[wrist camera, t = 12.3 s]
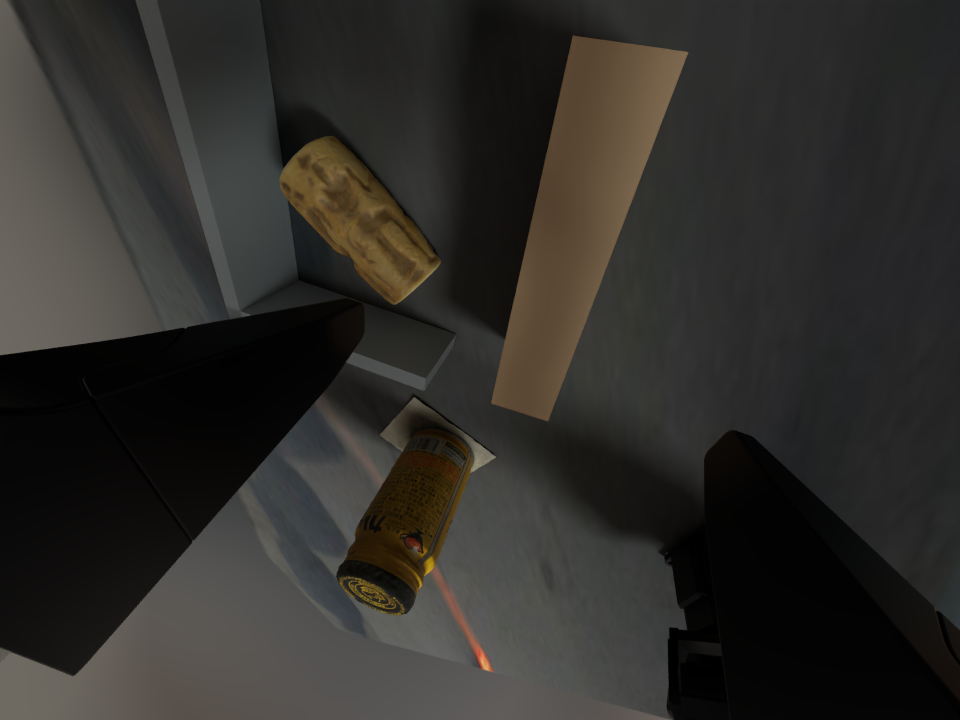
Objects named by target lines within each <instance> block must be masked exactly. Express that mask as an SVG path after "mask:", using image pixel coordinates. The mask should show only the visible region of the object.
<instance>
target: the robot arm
mask: <svg viewBox="0 0 960 720" xmlns="http://www.w3.org/2000/svg"><path fill="white" fill-rule="evenodd" d="M364 331H365V311H364V305H363V304H362V303H361V302H359V301H356V300H353V299H350V298H343V299H337V300H332V301H326V302H321V303H315V304H310V305H305V306H299V307H294V308H288V309H283V310H277V311H272V312H266V313H261V314H255V315H250V316H245V317H239V318H234V319H228V320H223V321H217V322H212V323H206V324H201V325H195V326H190V327H187V328H186V329H185V328H179V329H173V330H168V331H162V332H157V333H151V334H145V335H139V336H133V337H127V338H120V339H113V340H107V341H100V342H93V343H87V344H79V345H72V346H65V347H57V348H50V349H43V350H36V351H28V352H21V353H14V354H7V355H0V663H1V661H3V660H4V659H5V658H6V657H7V656H8V655H9V654H11V653H15V654H17V655H20V656H22V657H25V658H27V659H30V660H33V661H35V662H38V663H40V664H43V665H46V666H48V667H51V668H53V669H56V670H58V671H61V672H63V673H66V674H68V675H71V676H74V675H76V674H77V673H78V672H79V671H80V670H81V669H82V668H83V667H84V666H85V664H86V663H87V662H88V661H89V660H90V659H91V658H92V657H93V655H94V654H95V653H96V652H97V651H98V650H99V649H100V648H101V647H102V645H103V644H104V643H105V642H106V641H107V640H108V639H109V637H110V636H111V635H112V634H113V633H114V632H115V630H116V629H117V628H118V627H119V626H120V625H121V623H123V621H124V620H125V619H126V618H127V617H128V616H129V615H130V613H131V612H132V611H133V610H134V609H135V608H136V607H137V605H138V604H139V603H140V601H142V600H143V599H144V597H145V596H146V595H147V594H148V592H150V591H151V589H152V588H153V587H154V586H155V584H157V582H158V581H159V580H160V579H161V578H162V577H163V576H164V574H165V573H166V572H167V571H168V570H169V569H170V568H171V566H172V565H173V564H174V563H175V562H176V561H177V560H178V558H179V557H180V556H181V555H182V554H183V553H184V552H185V550H186V549H187V548H188V547H189V546H190V545H191V543H192V541H193V540H195V538H196V537H197V536H198V535H199V534H200V533H201V532H202V531H203V529H204V528H205V527H206V526H207V525H208V523H210V521H211V520H212V519H213V518H214V517H215V516H216V515H217V513H218V512H219V511H220V510H221V509H222V508H223V507H224V505H225V504H226V503H227V502H228V501H229V500H230V499H231V497H232V496H233V495H234V494H235V493H236V492H237V491H238V489H239V488H240V487H241V486H242V485H243V484H244V483H245V481H246V480H247V479H248V478H249V477H250V476H251V475H252V473H253V472H254V471H255V470H256V469H257V468H258V467H259V465H260V464H261V463H262V462H263V461H264V460H265V459H266V457H267V456H268V455H269V454H270V453H271V452H272V451H273V449H274V448H275V447H276V446H277V445H278V444H279V443H280V441H281V440H282V439H283V438H284V437H285V436H286V435H287V433H288V432H289V431H290V430H291V429H292V428H293V426H294V425H295V424H296V423H297V422H298V421H299V420H300V418H301V417H302V416H303V415H304V414H305V413H306V412H307V410H308V409H309V408H310V407H311V406H312V405H313V404H314V402H315V401H316V400H317V399H318V398H319V397H320V396H321V394H322V393H323V392H324V391H325V390H326V389H327V387H328V386H329V385H330V384H331V383H332V381H333V380H334V379H335V377H336V376H337V375H338V373H339V372H340V370H341V369H342V367H343V366H344V364H345V363H346V361H347V360H348V359H349V357H350V356H351V354H352V353H353V351H354V350H355V348H356V347H357V345H358V344H359V343H360V341H361V340H362V338H363V335H364ZM704 508H705V525H704V526H702V527H701V528H700V529H698V530H697V531H696V532H695V533H693V534H692V535H691V536H690V537H688V538H687V539H686V540H685V541H683V542H682V543H681V544H680V545H678V546H677V547H676V548H675V549H673V550H672V551H671V552H670V553H668V554H667V555H666V556H665V557H664V558H665V563H666V564H667V565H668V566H671V567H672V568H673V575H674V582H675V589H676V596H677V602H678V605H679V607H680V609H683V610H684V613H685V619H686V626H687V630H679V629H678V628H672V627H670V628H669V639H668V672H669V688H668V697H667V711H668V714H669V716H670V717H671V719H672V720H960V630H959V629H958V628H957V627H956V626H955V625H954V624H953V623H952V622H951V621H950V620H949V619H948V618H946V617H945V616H944V615H943V614H942V613H941V612H939V611H936V609H935V607H934V606H933V605H932V604H931V603H930V602H929V601H928V600H927V599H926V598H925V597H924V596H923V595H922V594H921V593H920V592H919V591H917V590H916V589H915V588H914V587H913V586H912V585H911V584H910V583H909V582H908V581H907V580H906V579H905V578H904V577H902V576H901V575H900V574H899V573H898V572H897V571H896V570H895V569H894V568H893V567H892V566H891V565H890V564H889V563H887V562H886V561H885V560H884V559H883V558H882V557H881V556H880V555H879V554H878V553H877V552H876V551H875V550H874V549H872V548H871V547H870V546H869V545H868V544H867V543H866V542H865V541H864V540H863V539H862V538H861V537H860V536H859V535H858V534H856V533H855V532H854V531H853V530H852V529H851V528H850V527H849V526H848V525H847V524H846V523H845V522H844V521H843V520H841V519H840V518H839V517H838V516H837V515H836V514H835V513H834V512H833V511H832V510H831V509H830V508H829V507H828V506H826V505H825V504H824V503H823V502H822V501H821V500H820V499H819V498H818V497H817V496H816V495H815V494H814V493H813V492H812V491H810V490H809V489H808V488H807V487H806V486H805V485H804V484H803V483H802V482H801V481H800V480H799V479H798V478H797V477H795V476H794V475H793V474H792V473H791V472H790V471H789V470H788V469H787V468H786V467H785V466H784V465H783V464H782V463H780V462H779V461H778V460H777V459H776V458H775V457H774V456H773V455H772V454H771V453H770V452H769V451H768V450H767V449H765V448H764V447H763V446H762V445H761V444H760V443H759V442H758V441H757V440H756V439H755V438H754V437H752V436H750V435H747V434H744V433H741V432H738V431H735V430H731V431H728V432H726V433H725V434H724V435H723V436H722V437H721V438H720V439H719V440H718V441H717V442H716V443H715V444H714V445H713V446H712V447H711V448H710V449H709V450H708V452H707V453H706V455H705V459H704Z"/></svg>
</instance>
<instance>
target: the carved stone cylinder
mask: <svg viewBox="0 0 960 720" xmlns="http://www.w3.org/2000/svg"><path fill="white" fill-rule="evenodd" d="M279 181H280V188H281V190H282V192H283V194H284V195H285V197H286V198H287V199H288V200H289V202H290V203H291V204H292V205H293V206H294V207H295V209H296V210H297V211H298V212H299V213H300V214H301V215H302V216H303V217H304V218H305V220H307V221H308V222H309V223H310V224H311V226H312V227H314V229H315V230H317V232H318V233H319V234H320V235H321V236H322V237H323V238H324V239H325V240H326V241H327V242H328V243H329V244H330V246H331V247H332V248H333V249H334V250H335V251H337V252H338V253H340V254H343V255H345V256H347V257H350V258H351V259H352V260H353V262H354V268H355V269H356V271H357V272H358V273H359V275H360V276H361V277H362V278H363V279H364V280H365V281H366V282H367V283H369V284H370V286H371V287H372V288H373V289H375V290H376V291H377V292H378V293H380V294H381V295H382V296H383V297H384V299H386V300H387V301H388V302H389V303H391V304H397V303H399V302H400V301H402V300H403V299H404V298H406V297H407V296H408V295H409V294H410V293H411V292H413V291H414V290H415V289H416V288H417V287H418V286H419V285H420V284H421V283H422V282H423V281H424V280H425V279H427V278H428V277H429V276H430V275H431V274H432V273H433V272H434V271H435V270H436V269H437V268H438V266H439V265H440V263H441V260H440V258H439V257H438V256H437V255H436V254H435V253H434V252H433V248H432V247H431V245H430V244H429V243H428V242H427V240H426V238H425V237H424V235H423V234H422V233H421V231H420V230H419V229H418V227H417V226H416V225H415V224H414V223H413V221H412V220H411V219H410V218H409V217H407V216H405V215H404V213H403V211H402V209H401V208H399V206H398V205H397V203H396V202H395V200H394V199H393V198H392V197H391V196H390V194H389V193H388V192H387V190H386V189H385V188H384V187H383V186H382V184H381V183H380V182H379V181H378V180H377V179H376V178H375V177H374V176H373V175H372V173H371V172H370V171H369V169H368V168H367V167H366V166H365V165H364V164H363V163H362V162H361V161H360V160H359V159H357V157H356V156H355V155H354V154H353V153H352V152H351V151H350V150H349V149H348V148H347V147H346V146H345V145H343V144H342V143H341V142H340V141H339V140H338V139H337V138H336V137H334V136H324V137H322V138H319V139H316V140H314V141H312V142H310V143H308V144H306V145H305V146H304V147H303V148H302V149H301V150H299V151H298V152H297V153H296V154H295V155H294V156H293V157H292V158H291V159H290V161H289V162H288V163H287V165H286V166H285V167H284V169H283V170H282V173H281V175H280V179H279Z"/></svg>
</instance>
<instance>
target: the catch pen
mask: <svg viewBox="0 0 960 720" xmlns="http://www.w3.org/2000/svg"><path fill="white" fill-rule="evenodd" d="M136 3H137V7H138V10H139V14H140V17H141V20H142V24H143V27H144V30H145V34H146V37H147V41H148V44H149V47H150V51H151V54H152V58H153V61H154V64H155V68H156V71H157V74H158V78H159V81H160V85H161V88H162V91H163V95H164V98H165V102H166V105H167V108H168V112H169V115H170V118H171V122H172V125H173V129H174V132H175V135H176V139H177V142H178V146H179V149H180V152H181V156H182V159H183V163H184V166H185V169H186V173H187V176H188V179H189V183H190V186H191V190H192V193H193V196H194V200H195V203H196V207H197V210H198V213H199V217H200V220H201V223H202V227H203V230H204V234H205V237H206V240H207V244H208V247H209V251H210V254H211V257H212V261H213V264H214V268H215V271H216V274H217V278H218V281H219V284H220V288H221V291H222V295H223V298H224V301H225V305H226V308H227V312H228V315H229V318H230V319H234V318H239V317H245V316H250V315H255V314H261V313H266V312H272V311H277V310H283V309H288V308H294V307H299V306H305V305H310V304H315V303H321V302H326V301H332V300H337V299H343V298H349V297H346V296H343V295H341V294H338V293H335V292H332V291H329V290H326V289H323V288H320V287H317V286H314V285H311V284H309V283H306V282H303V281H300V280H299V278H298V271H297V264H296V257H295V249H294V242H293V235H292V228H291V220H290V213H289V206H288V199H287V198H286V197H285V195H284V194H283V192H282V190H281V188H280V181H279V179H280V175H281V173H282V170H283V163H282V155H281V148H280V141H279V134H278V126H277V119H276V112H275V105H274V97H273V90H272V83H271V76H270V69H269V61H268V54H267V47H266V40H265V32H264V25H263V18H262V11H261V3H260V0H136ZM350 299H352V298H350ZM353 300H355V299H353ZM356 301H358V300H356ZM359 302H361V301H359ZM361 303H362V304H363V305H364V311H365V331H364V335H363V338H362V340H361V341H360V343H359V344H358V345H357V347H356V348H355V350H354V351H353V353H352V354H351V356H350V357H349V359H348V360H347V361H346V363H348V364H351V365H354V366H357V367H359V368H362V369H365V370H367V371H370V372H373V373H376V374H378V375H381V376H384V377H387V378H389V379H392V380H395V381H397V382H400V383H403V384H406V385H408V386H411V387H414V388H416V389H419V390H422V391H425V389H426V388H427V386H428V384H429V383H430V381H431V380H432V378H433V377H434V375H435V374H436V372H437V371H438V369H439V368H440V366H441V365H442V363H443V362H444V360H445V359H446V357H447V356H448V354H449V353H450V351H451V350H452V348H453V347H454V343H455V338H456V334H454V333H451V332H448V331H445V330H443V329H440V328H437V327H434V326H431V325H428V324H425V323H422V322H419V321H416V320H413V319H410V318H408V317H405V316H402V315H399V314H396V313H393V312H390V311H387V310H384V309H381V308H378V307H376V306H373V305H370V304H367V303H364V302H361Z"/></svg>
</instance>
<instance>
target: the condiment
mask: <svg viewBox="0 0 960 720" xmlns="http://www.w3.org/2000/svg"><path fill="white" fill-rule="evenodd" d="M438 424H439V425H438ZM407 435H408V436H409V438H408V437H407ZM380 436H381V437H383V438H384V439H385V440H386V441H388V442H390V443H392V444H393V445H394V446H395V447H396V448H397V449H399V450H401V451H402V453H401V455H400V457H399V458H398V459H397V461H396V463H395V465H394V466H393V467H392V469H391V472H390V473H389V475H388V476H387V478H386V480H385V482H384V483H383V484H382V486H381V488H380V490H379V491H378V493H377V495H376V496H375V498H374V499H373V501H372V502H371V504H370V505H369V508H368V509H367V511H366V513H365V514H364V516H363V517H362V519H361V520H360V523H359V524H358V526H357V528H356V532H355V537H356V538H355V542H354V543H353V545H351V547H350V548H349V550H348V554H347V557H346V559H345V560H344V563H342V564H341V565H340V566H339V569H338V572H337V576H336V577H337V580H338V583H339V584H340V585H341V587H342V588H343V589H344V590H345V591H346V593H348V594H349V595H350V596H352V597H353V598H355V599H356V600H357V601H359V602H361V603H363V604H365V605H367V606H368V607H371V608H372V609H375V610H377V611H380V612H383V613H386V614H391V615H403V614H407V613H408V612H409V611H410V609H411V608H412V606H413V605H414V602H415V599H416V595H417V593H418V589H420V588H421V586H422V584H423V577H424V576H425V575H426V574H428V573H429V572H430V571H431V570H432V569H433V567H434V566H435V564H436V562H437V559H438V556H439V554H440V551H441V548H442V546H443V544H444V541H445V538H446V536H447V533H448V529H449V527H450V524H451V522H452V519H453V518H454V514H455V512H456V509H457V507H458V504H459V502H460V499H461V496H462V493H463V492H464V491H465V485H466V483H467V481H468V479H469V475H470V473H472V472H473V471H475V470H477V469H478V468H480V467H481V466H483V465H485V464H487V463H488V462H490V461H491V460H493V459H494V458H496V457H495V456H494V455H493V454H491V453H490V452H489V451H488V450H486V449H485V448H484V447H483V446H481V445H480V444H479V443H477V442H475V441H474V440H473V439H472V438H471V437H470V436H468V435H467V434H464V432H463V431H461V430H460V429H458V428H456V427H455V426H454V425H452V424H450V423H448V422H447V421H446V420H445V419H444V418H443V417H441V416H440V415H439V414H437V413H436V412H435V411H433V410H432V409H430V408H429V407H427V406H425V405H424V404H422V403H421V402H420V401H419V400H417V399H416V398H415V397H414V398H413V399H412V400H411V401H410V402H409V403H408V404H407V406H406V407H405V408H404V409H403V410H402V411H401V412H400V413H399V414H398V415H397V416H396V418H395V419H394V420H393V421H392V422H391V423H390V424H389V425H388V426H387V427H386V429H385V430H384V431H383V432H382V433H381V434H380ZM409 439H410V441H409Z"/></svg>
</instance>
